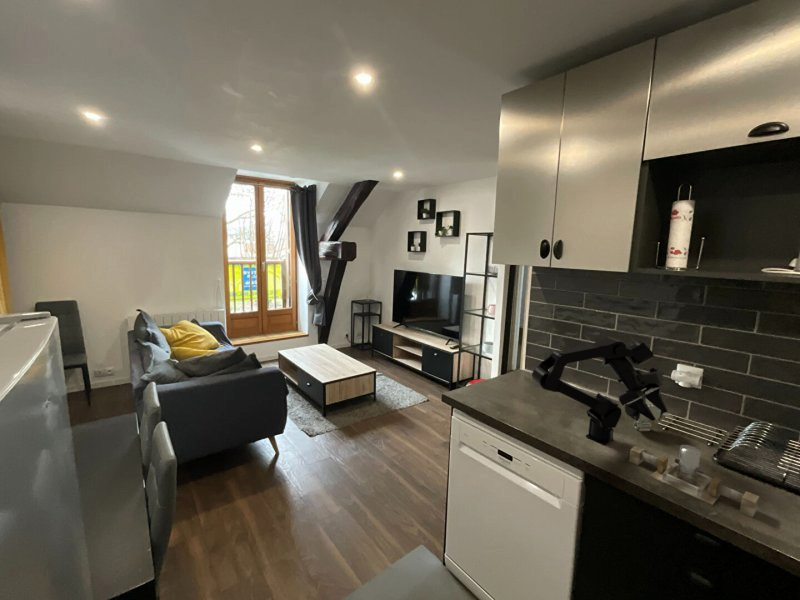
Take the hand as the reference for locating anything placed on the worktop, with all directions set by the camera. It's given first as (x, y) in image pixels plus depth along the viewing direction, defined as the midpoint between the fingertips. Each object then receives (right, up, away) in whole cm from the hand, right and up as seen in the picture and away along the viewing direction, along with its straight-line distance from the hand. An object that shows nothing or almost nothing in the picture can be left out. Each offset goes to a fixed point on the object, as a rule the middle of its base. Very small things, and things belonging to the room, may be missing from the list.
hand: (660, 416), depth 112 cm
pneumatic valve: (+7, -11, +18) cm, 22 cm away
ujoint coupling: (-1, -15, -11) cm, 19 cm away
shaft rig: (-1, -15, -11) cm, 19 cm away
